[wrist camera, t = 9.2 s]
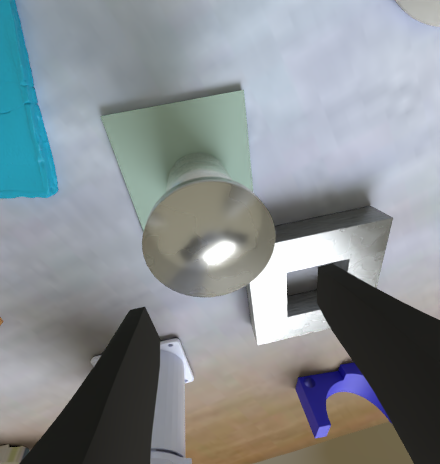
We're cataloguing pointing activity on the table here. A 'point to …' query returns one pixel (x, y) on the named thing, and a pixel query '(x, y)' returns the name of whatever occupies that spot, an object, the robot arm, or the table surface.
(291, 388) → the table surface
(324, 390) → the blue bearing cradle
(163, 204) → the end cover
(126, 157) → the mat
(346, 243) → the socket block
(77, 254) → the table surface
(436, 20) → the cylinder vase
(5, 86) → the sponge
